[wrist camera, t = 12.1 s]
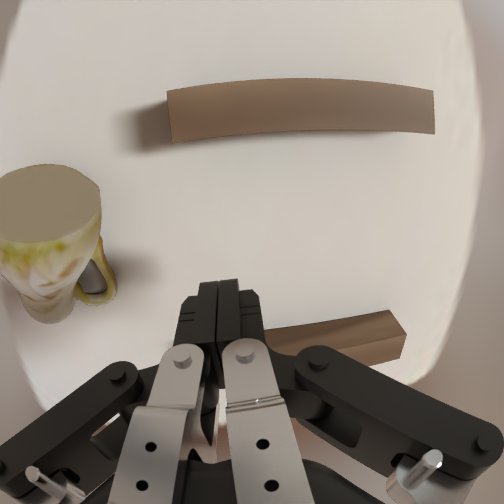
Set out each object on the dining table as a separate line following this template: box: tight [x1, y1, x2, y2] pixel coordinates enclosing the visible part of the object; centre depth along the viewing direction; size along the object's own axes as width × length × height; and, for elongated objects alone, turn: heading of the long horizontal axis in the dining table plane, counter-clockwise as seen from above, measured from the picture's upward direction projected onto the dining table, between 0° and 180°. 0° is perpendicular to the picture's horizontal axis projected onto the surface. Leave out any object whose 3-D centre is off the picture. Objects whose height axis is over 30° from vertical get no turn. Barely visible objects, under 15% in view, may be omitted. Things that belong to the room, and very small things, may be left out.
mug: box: [0, 164, 117, 324], centre depth 14 cm, size 8×10×10 cm
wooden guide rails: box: [167, 78, 435, 366], centre depth 16 cm, size 18×13×3 cm
